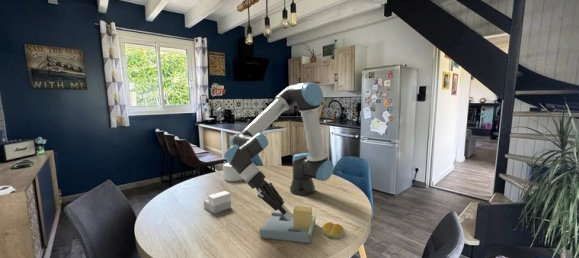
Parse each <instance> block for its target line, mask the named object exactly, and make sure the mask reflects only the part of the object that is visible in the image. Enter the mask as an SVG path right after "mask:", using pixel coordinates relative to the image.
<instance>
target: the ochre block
mask: <svg viewBox="0 0 579 258" xmlns="http://www.w3.org/2000/svg"><path fill="white" fill-rule="evenodd" d="M312 210H313V209H312V207H311V206H302V205H301V206H300V205H294V208H293V210H292V214H293V227H294V228H302V229H309V228H310V225H311V221H312V216H313V211H312Z"/></svg>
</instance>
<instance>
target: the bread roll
mask: <svg viewBox="0 0 579 258" xmlns="http://www.w3.org/2000/svg"><path fill="white" fill-rule="evenodd" d="M321 230H322V231H321V232H322V234H323V235H324V236H325V237H327V238H331V239H335V240H336V239H341V238H342V237H344V234H345V232H346V229H345V228H344V227H343V226H342V225H341V224H339V223H333V222H326V223H324V224H323V225H322V227H321Z"/></svg>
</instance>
